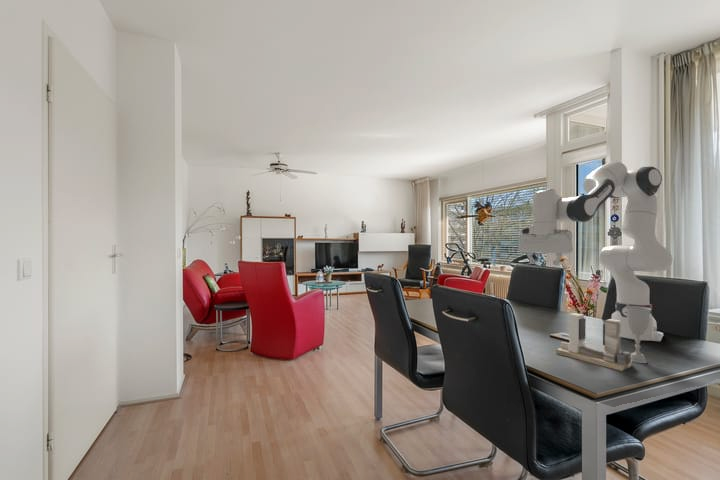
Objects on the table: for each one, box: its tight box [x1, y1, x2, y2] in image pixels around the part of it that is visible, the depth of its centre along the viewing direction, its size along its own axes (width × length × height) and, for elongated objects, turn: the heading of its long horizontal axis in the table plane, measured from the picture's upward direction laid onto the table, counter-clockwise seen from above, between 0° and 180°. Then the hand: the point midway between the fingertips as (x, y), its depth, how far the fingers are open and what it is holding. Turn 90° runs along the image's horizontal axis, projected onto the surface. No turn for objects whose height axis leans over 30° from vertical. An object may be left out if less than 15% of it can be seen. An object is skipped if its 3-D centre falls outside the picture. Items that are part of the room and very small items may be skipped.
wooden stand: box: [555, 318, 633, 372], centre depth 119 cm, size 8×20×14 cm, turn 34°
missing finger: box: [567, 312, 587, 353], centre depth 123 cm, size 6×4×13 cm, turn 124°
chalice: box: [625, 306, 652, 364], centre depth 119 cm, size 7×7×18 cm
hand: (544, 264), depth 139 cm, fingers open, 8 cm apart
